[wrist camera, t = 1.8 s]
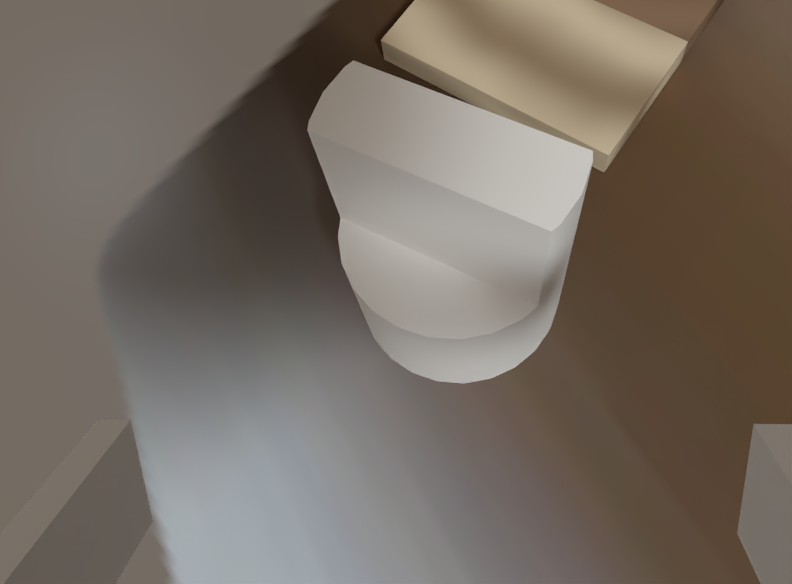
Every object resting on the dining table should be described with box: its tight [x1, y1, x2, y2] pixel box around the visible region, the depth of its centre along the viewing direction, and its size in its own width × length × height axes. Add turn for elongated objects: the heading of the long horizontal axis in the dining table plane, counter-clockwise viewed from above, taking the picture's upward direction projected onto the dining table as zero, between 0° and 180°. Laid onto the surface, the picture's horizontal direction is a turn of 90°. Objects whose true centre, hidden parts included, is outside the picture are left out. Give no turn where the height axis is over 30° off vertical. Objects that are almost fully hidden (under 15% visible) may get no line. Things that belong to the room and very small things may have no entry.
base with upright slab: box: [307, 60, 593, 383], centre depth 29 cm, size 9×9×12 cm
